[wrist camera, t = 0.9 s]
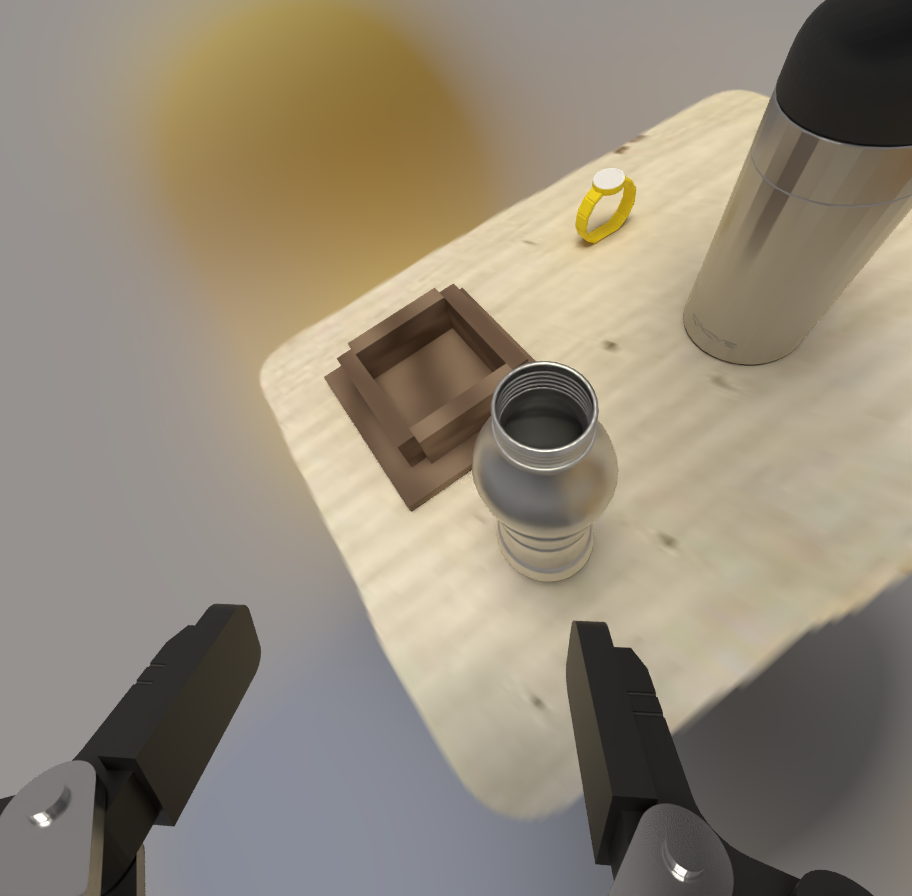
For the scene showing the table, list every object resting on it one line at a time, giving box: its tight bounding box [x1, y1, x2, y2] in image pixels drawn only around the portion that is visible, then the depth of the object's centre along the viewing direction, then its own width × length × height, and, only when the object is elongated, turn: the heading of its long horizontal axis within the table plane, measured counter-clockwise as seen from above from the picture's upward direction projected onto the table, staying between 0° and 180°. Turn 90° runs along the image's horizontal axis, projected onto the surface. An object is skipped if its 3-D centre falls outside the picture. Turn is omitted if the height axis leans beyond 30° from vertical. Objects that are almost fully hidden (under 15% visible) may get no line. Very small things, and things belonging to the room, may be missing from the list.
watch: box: [575, 168, 636, 244], centre depth 42 cm, size 6×3×6 cm, turn 121°
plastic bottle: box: [472, 361, 618, 582], centre depth 24 cm, size 6×7×20 cm
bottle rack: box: [324, 284, 536, 511], centre depth 38 cm, size 16×16×5 cm
